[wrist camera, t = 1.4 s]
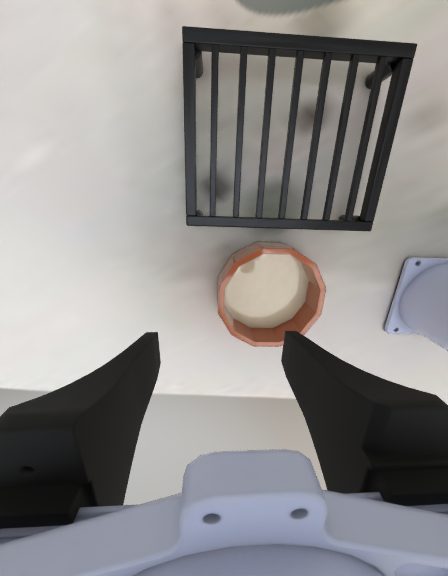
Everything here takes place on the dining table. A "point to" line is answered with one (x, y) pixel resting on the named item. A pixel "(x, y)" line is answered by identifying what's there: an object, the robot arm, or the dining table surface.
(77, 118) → the dining table surface
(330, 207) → the rack
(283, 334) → the terracotta bowl
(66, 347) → the dining table surface
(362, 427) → the robot arm
